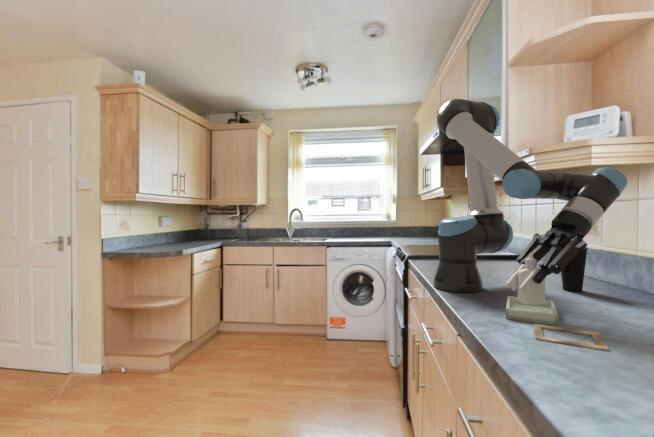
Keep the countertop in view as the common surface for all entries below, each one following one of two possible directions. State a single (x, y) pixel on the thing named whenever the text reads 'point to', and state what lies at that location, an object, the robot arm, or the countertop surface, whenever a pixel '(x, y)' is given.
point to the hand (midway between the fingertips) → (517, 288)
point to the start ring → (596, 337)
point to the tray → (531, 311)
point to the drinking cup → (574, 272)
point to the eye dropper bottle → (539, 292)
